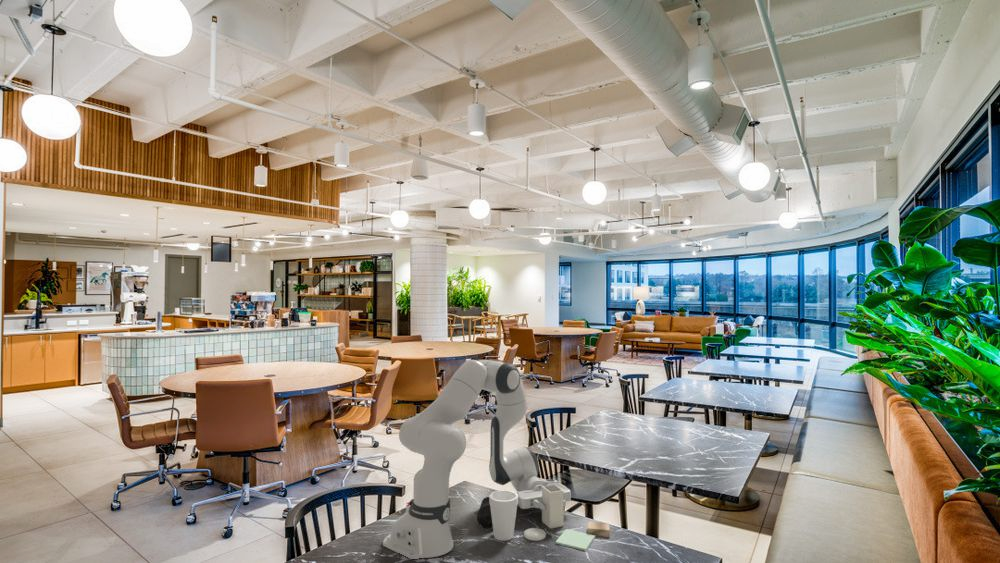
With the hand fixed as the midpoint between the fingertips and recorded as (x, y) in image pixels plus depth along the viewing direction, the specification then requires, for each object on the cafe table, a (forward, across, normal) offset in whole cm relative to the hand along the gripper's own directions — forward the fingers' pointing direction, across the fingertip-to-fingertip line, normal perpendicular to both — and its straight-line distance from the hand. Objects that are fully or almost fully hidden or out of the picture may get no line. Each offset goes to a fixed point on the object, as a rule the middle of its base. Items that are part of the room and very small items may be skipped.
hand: (553, 505), depth 172 cm
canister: (-1, 0, +6) cm, 7 cm away
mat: (+13, +1, +6) cm, 14 cm away
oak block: (+11, +11, +7) cm, 17 cm away
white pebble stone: (+5, -10, +7) cm, 13 cm away
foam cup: (+1, -19, +7) cm, 20 cm away
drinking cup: (-19, -17, +4) cm, 26 cm away
